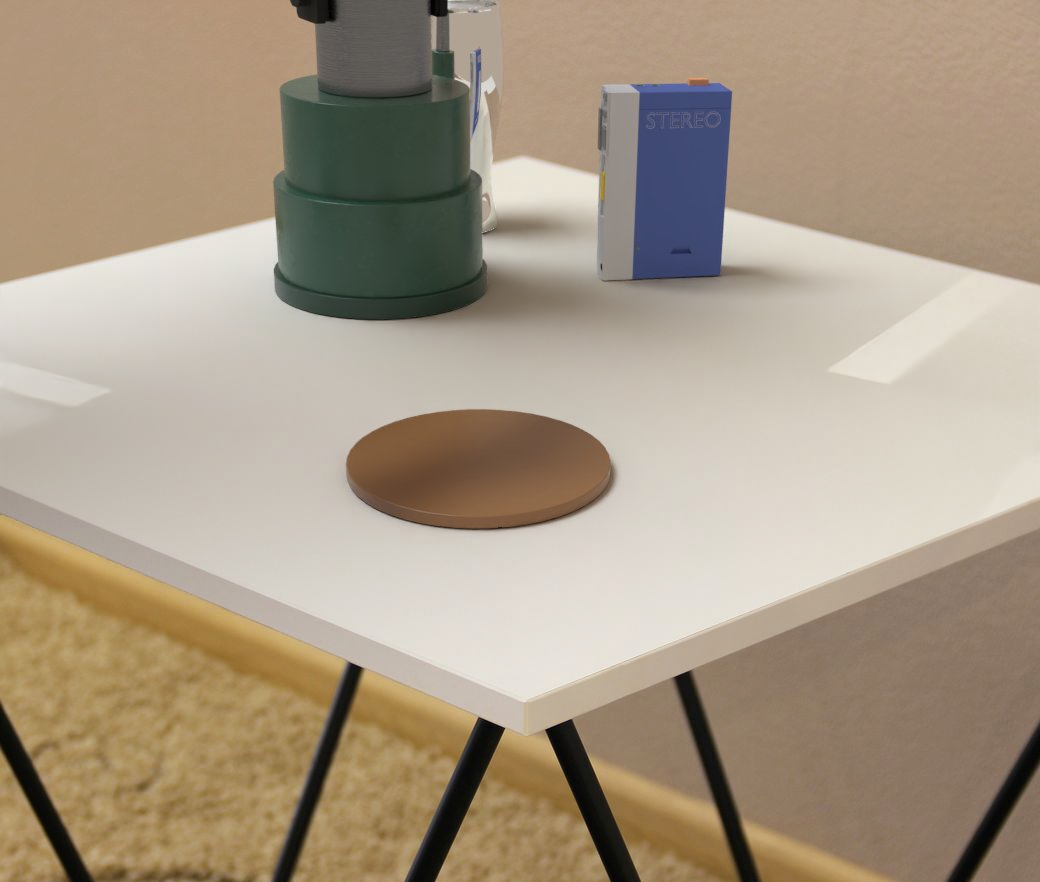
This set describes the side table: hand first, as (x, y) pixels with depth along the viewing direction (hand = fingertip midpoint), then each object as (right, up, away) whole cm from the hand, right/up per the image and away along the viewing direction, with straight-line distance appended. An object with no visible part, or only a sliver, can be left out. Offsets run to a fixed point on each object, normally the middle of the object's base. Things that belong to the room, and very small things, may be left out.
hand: (372, 14), depth 87 cm
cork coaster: (+7, -26, -17) cm, 33 cm away
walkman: (+17, -13, +11) cm, 24 cm away
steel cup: (0, -4, +2) cm, 4 cm away
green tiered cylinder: (0, -15, +7) cm, 16 cm away
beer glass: (+3, -9, +20) cm, 22 cm away
